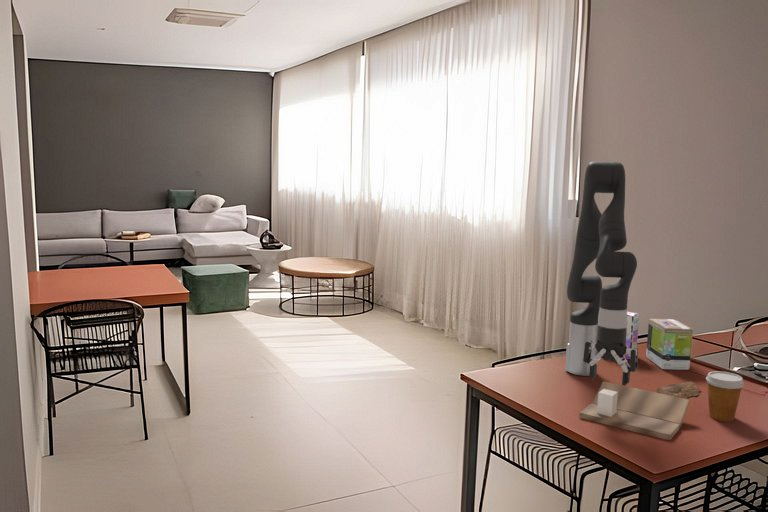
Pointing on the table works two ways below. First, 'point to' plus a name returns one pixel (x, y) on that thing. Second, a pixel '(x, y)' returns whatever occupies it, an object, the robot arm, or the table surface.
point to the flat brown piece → (680, 390)
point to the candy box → (631, 332)
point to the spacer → (607, 402)
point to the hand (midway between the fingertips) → (609, 381)
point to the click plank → (648, 403)
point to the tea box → (669, 344)
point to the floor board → (633, 422)
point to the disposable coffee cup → (723, 394)
